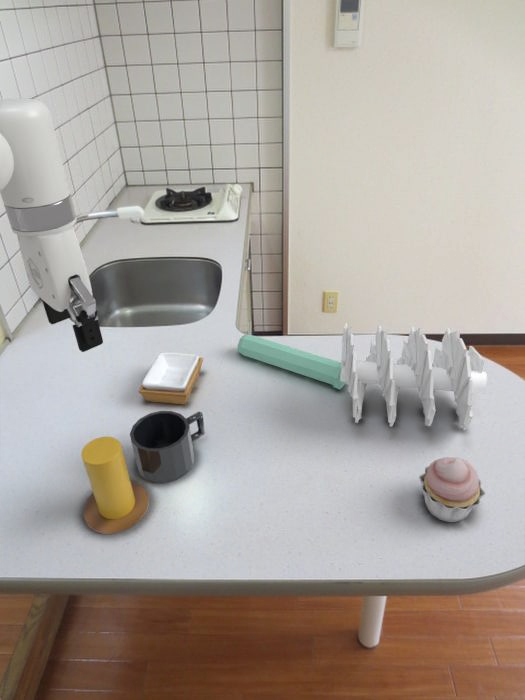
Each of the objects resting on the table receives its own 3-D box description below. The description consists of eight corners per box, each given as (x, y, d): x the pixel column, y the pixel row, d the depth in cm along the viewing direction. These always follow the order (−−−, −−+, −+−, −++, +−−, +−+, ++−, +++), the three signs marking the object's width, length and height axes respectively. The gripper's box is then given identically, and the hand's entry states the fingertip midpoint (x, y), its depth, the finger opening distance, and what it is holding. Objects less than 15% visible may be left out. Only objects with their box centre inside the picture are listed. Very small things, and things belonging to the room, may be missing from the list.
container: (235, 331, 113) (340, 364, 101) (250, 329, 118) (352, 359, 106) (231, 357, 115) (334, 392, 103) (246, 354, 120) (346, 387, 108)
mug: (157, 493, 85) (150, 460, 81) (127, 461, 91) (119, 429, 87) (221, 452, 92) (217, 420, 88) (190, 425, 98) (185, 394, 94)
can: (91, 514, 81) (73, 459, 74) (111, 487, 86) (95, 433, 79) (123, 523, 80) (107, 467, 73) (141, 495, 84) (128, 440, 77)
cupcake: (461, 478, 85) (472, 433, 79) (489, 526, 77) (505, 480, 72) (405, 486, 84) (413, 441, 78) (429, 535, 76) (439, 489, 71)
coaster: (71, 525, 80) (70, 522, 80) (107, 477, 88) (106, 475, 88) (128, 541, 78) (127, 539, 77) (160, 490, 85) (159, 488, 85)
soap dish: (188, 409, 102) (185, 389, 99) (140, 405, 103) (136, 385, 100) (205, 371, 112) (202, 352, 109) (161, 368, 113) (157, 349, 111)
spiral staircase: (472, 449, 96) (334, 435, 98) (465, 364, 104) (339, 353, 107) (508, 408, 80) (343, 393, 82) (496, 312, 89) (348, 301, 91)
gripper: (-15, 204, 67) (25, 320, 76) (39, 241, 56) (77, 371, 65) (43, 190, 71) (73, 302, 80) (104, 222, 60) (130, 347, 69)
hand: (75, 333), depth 73 cm, fingers open, 9 cm apart
